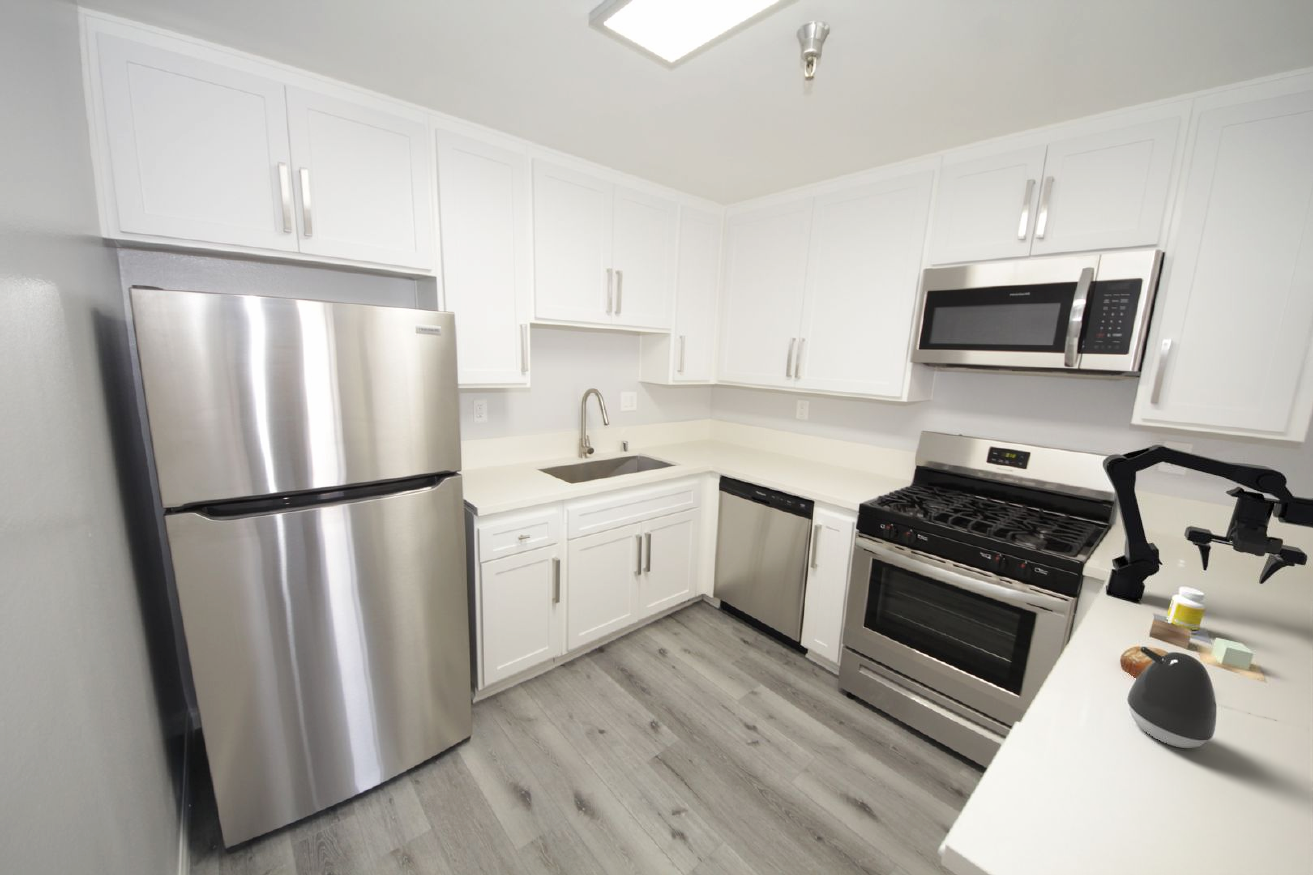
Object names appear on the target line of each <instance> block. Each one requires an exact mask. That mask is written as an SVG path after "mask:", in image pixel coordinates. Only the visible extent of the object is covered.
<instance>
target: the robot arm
mask: <svg viewBox="0 0 1313 875" xmlns="http://www.w3.org/2000/svg"><path fill="white" fill-rule="evenodd" d="M1160 463H1166V464H1170V465H1174V466H1178V467H1182V468H1186V469H1189V470H1193V471H1197V472H1201V473H1205V474H1209V475H1213V476H1216V477H1220V478H1224V479H1226V480H1228V481H1232V482H1234V483H1236V484H1238V485H1241V486H1243V487H1246V488H1249V489H1251V490H1254V491H1248V490H1245V489H1244V488H1242V487H1241V486H1236V487H1235V488H1232V489H1229V490H1227V491H1226V492H1225V493H1226V494H1227V495H1228V496H1230V497H1233V498H1237V500H1236V502H1235V505H1234V509H1233V513H1232V516H1231V518H1230V521H1229V524H1228V525H1229V526H1228V529H1227V531H1226V535H1225V536H1223V535H1218V534H1213V533H1212V532H1211V530H1210V529H1206V528H1201V527H1197V526H1193V525H1190V526H1187V527H1186V529H1185V531H1184V535H1183V536H1184V538H1185V539H1186V540H1187V541H1189V542H1191V543H1192V545H1194V546H1195V547H1196V546H1197V548H1198V550H1199V551H1198V552H1199V554H1200V559H1201V560H1200V561H1201V564H1202V569H1203V571H1206V572H1207V569H1208V567H1209V559H1210V552H1211V549H1212V546H1211V544H1210V543H1215V544H1216V543H1218V544H1221V545H1222V544H1223V545H1225V546H1226V545H1227V546H1231V547H1232V549H1233V550H1234V551H1236V552H1238V553H1246V554H1249V555H1254V556H1256V557H1265V555H1266V554H1268V557H1267V559H1266V561H1265V564H1264V567H1263V568H1262V570H1261V573H1260V576H1259V580H1258V583H1259V584H1261V585H1263V584H1264V583H1265V582H1266V581H1267V580H1269V579H1270V578H1271V577H1272V576H1273V575H1274V574H1275V573H1277V572H1278V571H1279V570H1280V569H1283V568H1286V567H1295V566H1296V565H1299V566H1306V564H1307V561H1308V555H1307V554H1306V553H1305V552H1304V551H1303V550H1302V549H1301V548H1300V547H1295V546H1291V545H1287V544H1284V539H1283V538H1279V537H1274V536H1268V528H1269V523H1270V521H1271V517H1272V516H1273V517H1274V518H1277V519H1278V522H1279V523H1280V524H1288V525H1293V526H1300V527H1305V528H1312V529H1313V497H1311V498H1309V497H1302V496H1295V495H1293V493H1292V492H1291V491H1290V489H1289V488H1288V487H1287V482H1288V481H1287V477H1286V476H1285V475H1284V474H1283V473H1282V472H1281V471H1278V470H1276V469H1273V468H1270V467H1269V466H1265V465H1260V464H1252V463H1251V464H1250V463H1241V462H1230V461H1224V460H1220V459H1215V458H1211V457H1207V456H1204V455H1200V454H1195V453H1192V452H1191V453H1190V452H1187V451H1183V450H1179V449H1174V448H1171V447H1167V446H1165V445H1163V444H1154V445H1153V444H1152V445H1151V446H1149V447H1145V448H1142V449H1138V450H1134V451H1129V452H1126V453H1124V454H1118V453H1117V454H1110V455H1108V456H1107V457H1105V458H1104V459H1103V461H1102V468H1103V470H1104V472H1105V474H1106V476H1107V477H1108V480H1109V482H1110V483H1111V485H1112V488H1113V489H1114V493H1115V498H1116V501H1117V503H1116V504H1117V506H1118V510H1119V514H1120V518H1121V523H1122V527H1123V530H1124V531H1123V532H1124V535H1125V536H1124V537H1125V540H1124V547H1123V548H1124V549H1123V550H1124V554H1123V555H1121V556H1118V557H1115V558H1113V559H1111V563H1112V567H1114V568H1111V569H1110V574H1109V577H1108V581H1107V585H1105V594H1106V595H1108V596H1112V597H1115V598H1118V599H1120V600H1121V599H1122V600H1125V601H1127V602H1132V603H1135V604H1140V601H1142V599H1143V595H1144V592H1145V589H1146V588H1145V587H1146V585H1145V581H1146V579H1148V578H1149V577H1150V576H1154V575H1156V574H1157V573H1159V571H1160V565H1161V566H1162V565H1164V564H1163V563H1162V562H1161V559H1160V550H1159V548H1158V547H1157V545H1156V544H1155V543H1154V542H1148V541H1147V536H1146V532H1145V529H1144V525H1143V519H1142V515H1141V512H1140V507H1139V504H1138V498H1137V496H1136V490H1135V487H1136V481H1137V472H1140V471H1143V470H1146V469H1148V468H1150V467H1153V466H1155V465H1157V464H1160ZM1255 491H1256V492H1255ZM1264 494H1267V495H1268V494H1269V495H1270V496H1272V497H1273V498H1271V497H1269V498H1268V497H1266V496H1264Z"/></svg>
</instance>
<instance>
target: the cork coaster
mask: <svg viewBox="0 0 1313 875" xmlns="http://www.w3.org/2000/svg"><path fill="white" fill-rule="evenodd" d="M1194 645H1195V648H1196V650H1197V653H1198V656H1199V660H1200V661H1201V662H1200V663H1203V664H1207V665H1211V666H1214V667H1217V668H1220V669H1224V670H1226V671H1230V672H1233V673H1235V674H1239V675H1241V676H1245V677H1248V678H1251V679H1254V680H1257V681H1261V682H1262V683H1268V682H1267V680H1266V678H1265V676H1264V674H1263V672H1262V671H1261V669H1260V667H1259V665H1258V664H1257V662H1255V661H1253V660H1251V663H1250V666H1249V669H1248V670H1243V669H1239V668H1235V667H1231V666H1227V665H1223V664H1221V663H1220V662H1219V661H1218V660H1217V659H1216V658H1215V657H1214V656H1213V655H1212V654H1211V652H1212V649H1213V648H1210V647H1207V646H1204V645H1202V644H1201V645H1200V644H1197V643H1194Z"/></svg>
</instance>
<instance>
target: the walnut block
mask: <svg viewBox="0 0 1313 875" xmlns="http://www.w3.org/2000/svg"><path fill="white" fill-rule="evenodd" d="M1148 636H1149V638H1152V639H1155V640H1157V641H1161V642H1164V643H1167V644H1168V645H1169V644H1170V645H1173V646H1176V647H1178V648H1182V649H1185V650H1188V648H1189V644H1190V641H1191V639H1192V638H1191V630H1189V629H1186V628H1183V627H1180V626H1177V625H1174V624H1171V623H1168V622H1165V621H1162V620H1159V619H1155V618H1154V617H1153V620H1152V624H1151V627H1150V631H1149V635H1148Z"/></svg>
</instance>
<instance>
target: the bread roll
mask: <svg viewBox="0 0 1313 875" xmlns="http://www.w3.org/2000/svg"><path fill="white" fill-rule="evenodd" d="M1141 647H1146V648H1148V649H1150V650H1151V651H1153V652H1155V653H1157V654H1159V655H1160V656H1162V655H1165V654H1167V653H1170V652H1168V651H1167V650H1164V649H1161V648H1157V647H1152V646H1145V645H1144V646H1143V645H1142V646H1140V645H1138V646H1133V647H1130V648H1128V649H1127V650H1125V651H1124V652H1123V653H1122V654H1121V655H1120V660H1119V662H1120V667H1121V669H1122V670H1123V671H1124V672H1125V673H1126V672H1127V673H1129V674H1130V675H1131V676H1133V677H1134V678H1136V679H1137V678H1138V676H1139V675H1140V674H1141V672H1142V671H1143V670H1144V669H1145V668H1146V667H1147V666H1148V665H1149V664H1150V663H1152V662H1153V660H1152V659H1151V658H1149V657H1148V656H1146V655H1145V654H1144V653H1142V652H1141V651H1140V648H1141ZM1127 673H1126V674H1127ZM1129 674H1128V675H1129ZM1130 675H1129V676H1130ZM1131 676H1130V677H1131ZM1134 678H1133V679H1134Z"/></svg>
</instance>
